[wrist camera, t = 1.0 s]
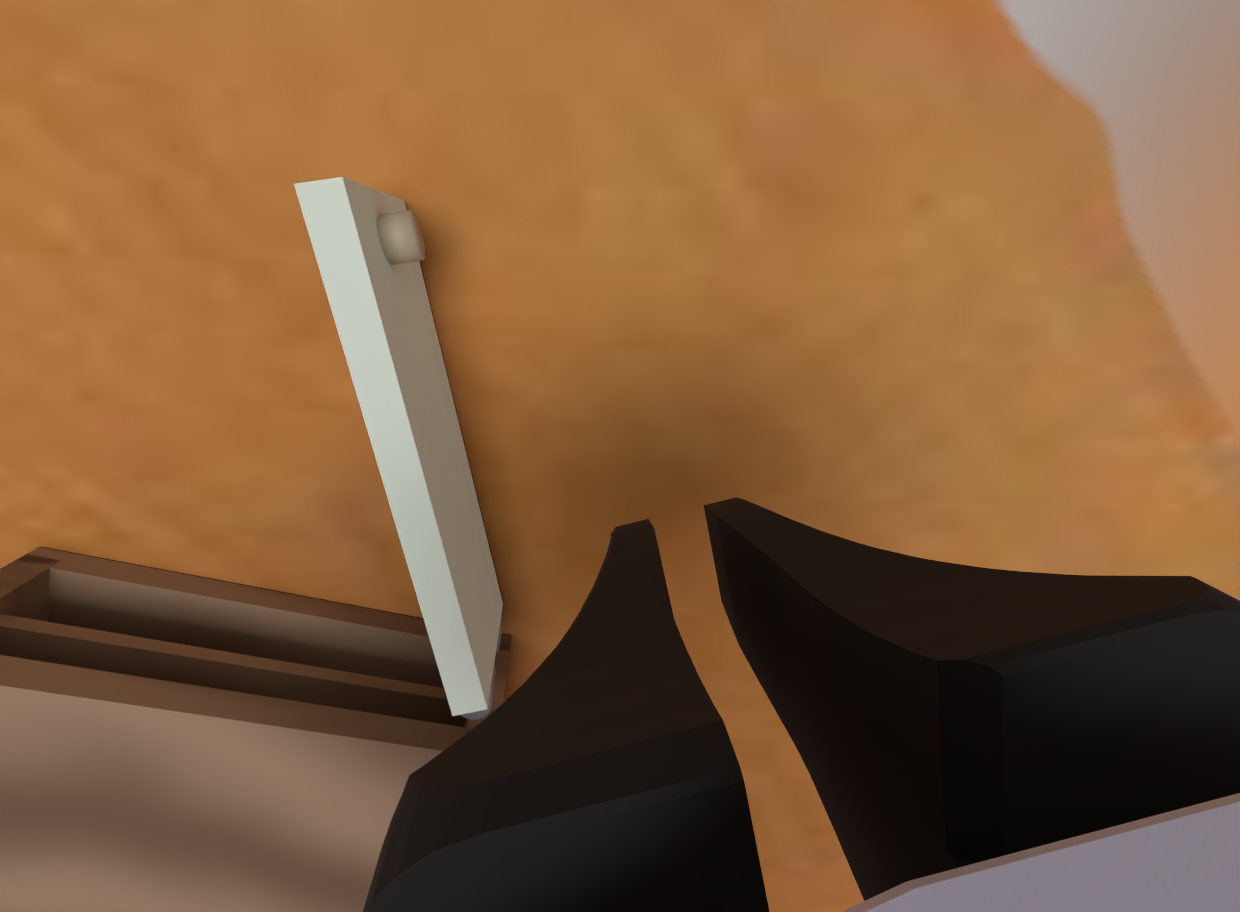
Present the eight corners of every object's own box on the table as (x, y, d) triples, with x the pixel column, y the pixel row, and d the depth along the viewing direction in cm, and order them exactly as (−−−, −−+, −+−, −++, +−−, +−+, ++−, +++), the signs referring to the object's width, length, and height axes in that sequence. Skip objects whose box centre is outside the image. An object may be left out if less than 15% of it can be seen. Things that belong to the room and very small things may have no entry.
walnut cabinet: (456, 830, 26) (429, 991, 20) (34, 777, 23) (-138, 950, 17) (511, 635, 23) (497, 759, 17) (39, 547, 20) (-164, 661, 14)
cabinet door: (480, 624, 22) (458, 735, 17) (370, 205, 18) (294, 184, 12) (527, 616, 23) (520, 723, 17) (431, 196, 18) (380, 171, 13)
